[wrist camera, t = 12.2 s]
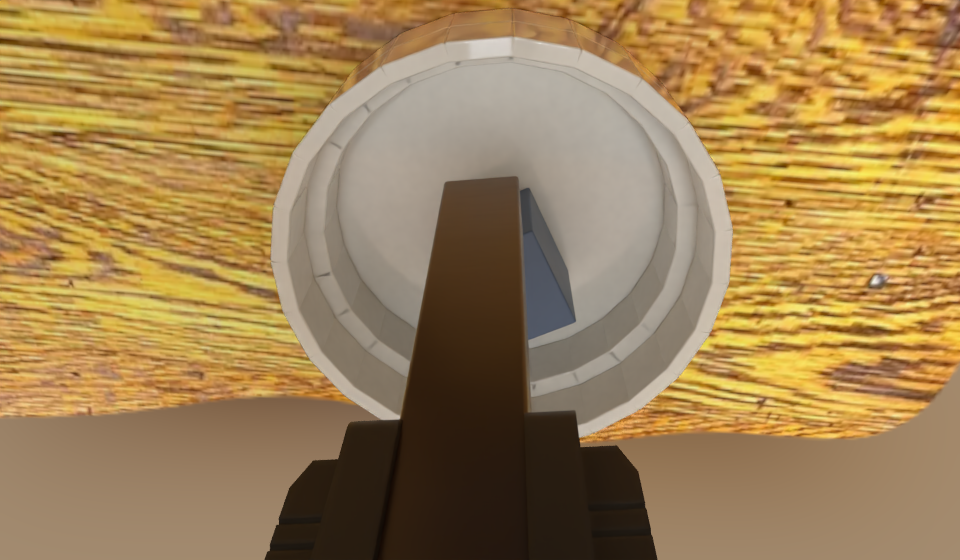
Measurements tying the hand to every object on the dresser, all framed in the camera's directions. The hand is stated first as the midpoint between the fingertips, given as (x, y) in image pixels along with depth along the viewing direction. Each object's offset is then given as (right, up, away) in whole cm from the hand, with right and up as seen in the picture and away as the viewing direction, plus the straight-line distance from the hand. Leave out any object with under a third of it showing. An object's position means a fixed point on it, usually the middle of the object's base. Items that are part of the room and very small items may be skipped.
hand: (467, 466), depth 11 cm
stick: (0, +4, +8) cm, 9 cm away
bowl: (+1, +5, +19) cm, 20 cm away
